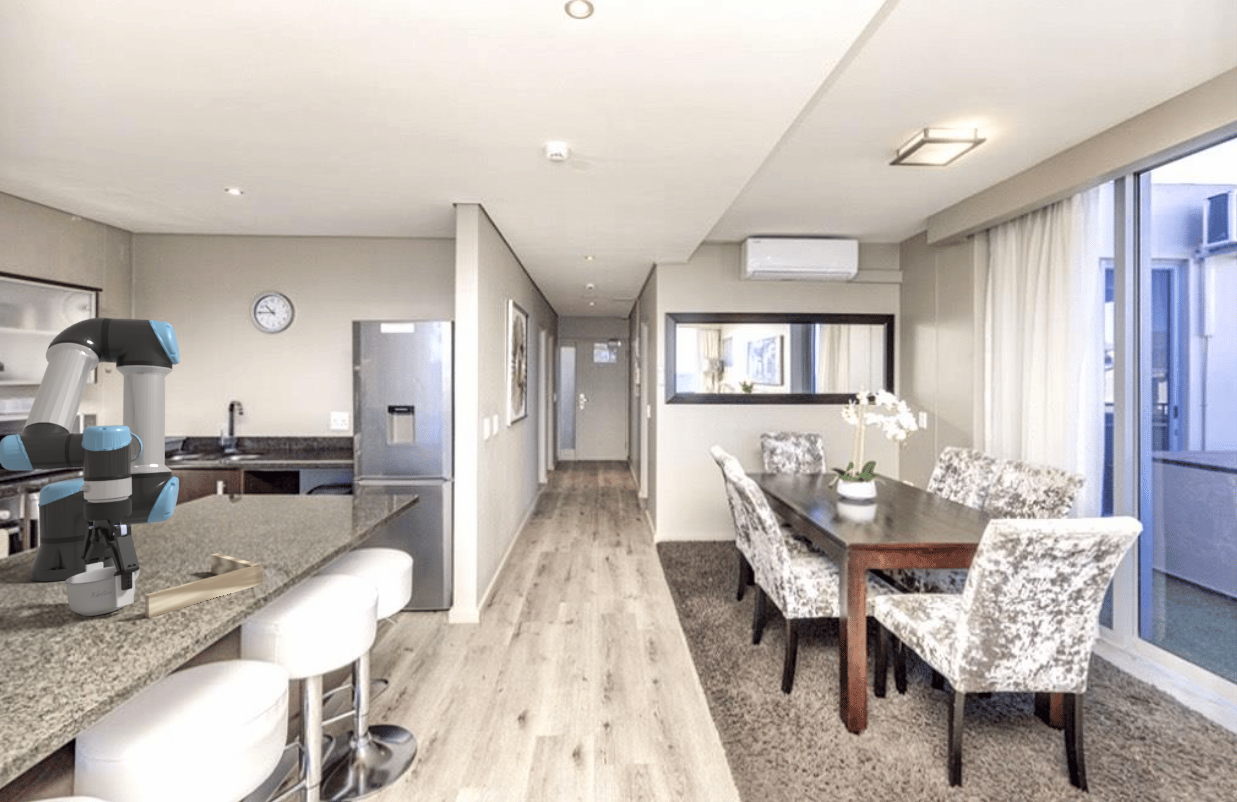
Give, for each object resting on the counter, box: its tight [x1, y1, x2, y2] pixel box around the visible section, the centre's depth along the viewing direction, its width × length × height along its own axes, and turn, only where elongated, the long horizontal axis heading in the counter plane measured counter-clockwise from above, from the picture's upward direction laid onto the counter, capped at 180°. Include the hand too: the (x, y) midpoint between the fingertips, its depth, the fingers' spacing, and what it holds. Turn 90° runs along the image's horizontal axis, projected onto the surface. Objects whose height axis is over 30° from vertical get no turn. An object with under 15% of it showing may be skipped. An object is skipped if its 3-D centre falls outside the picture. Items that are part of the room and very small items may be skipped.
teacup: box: [64, 565, 141, 617], centre depth 120 cm, size 14×11×8 cm
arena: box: [144, 552, 264, 619], centre depth 129 cm, size 20×22×4 cm
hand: (109, 599), depth 119 cm, fingers open, 13 cm apart
